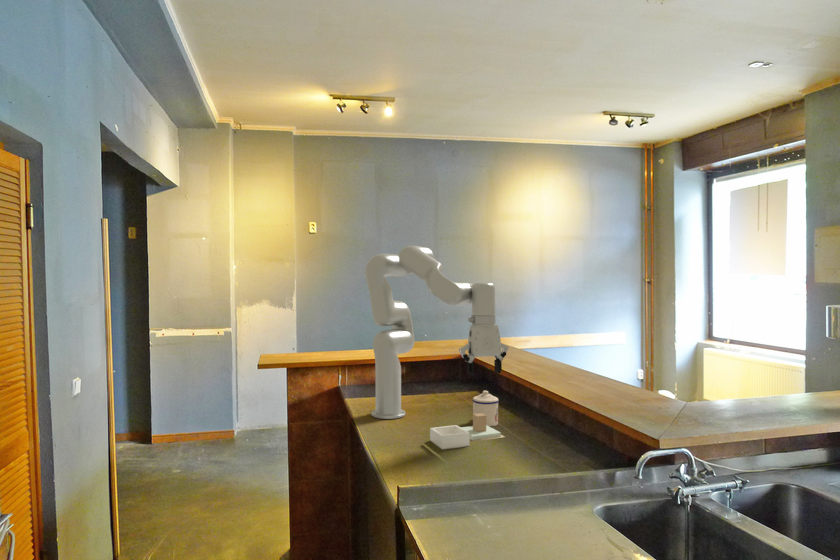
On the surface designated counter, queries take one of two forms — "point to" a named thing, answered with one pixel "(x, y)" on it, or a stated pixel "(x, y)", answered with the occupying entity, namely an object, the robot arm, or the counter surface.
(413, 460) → the counter surface
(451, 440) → the white open square tray
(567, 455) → the counter surface
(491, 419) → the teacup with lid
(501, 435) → the mat
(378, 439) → the counter surface
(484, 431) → the lid
